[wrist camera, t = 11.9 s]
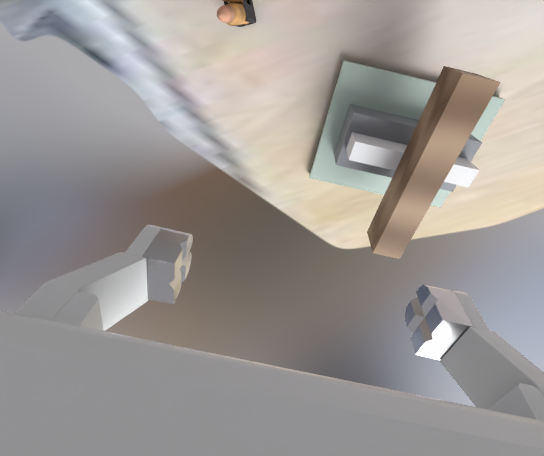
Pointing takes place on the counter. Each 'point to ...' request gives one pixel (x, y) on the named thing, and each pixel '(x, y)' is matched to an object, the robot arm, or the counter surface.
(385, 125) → the ridge stand
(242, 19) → the ammunition clip
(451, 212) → the counter surface
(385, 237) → the walnut batten
